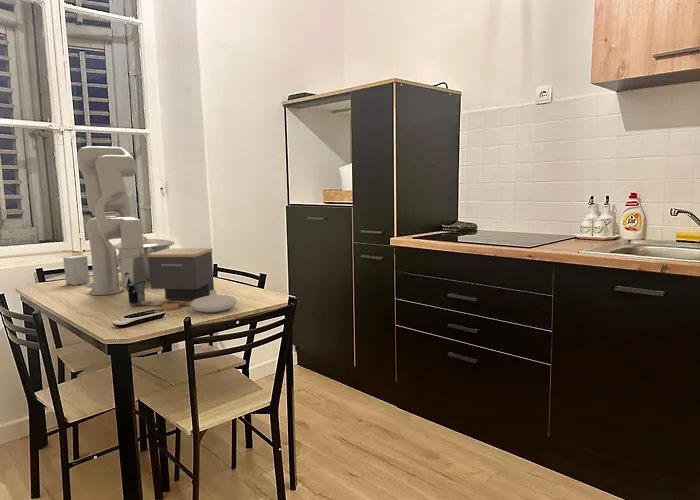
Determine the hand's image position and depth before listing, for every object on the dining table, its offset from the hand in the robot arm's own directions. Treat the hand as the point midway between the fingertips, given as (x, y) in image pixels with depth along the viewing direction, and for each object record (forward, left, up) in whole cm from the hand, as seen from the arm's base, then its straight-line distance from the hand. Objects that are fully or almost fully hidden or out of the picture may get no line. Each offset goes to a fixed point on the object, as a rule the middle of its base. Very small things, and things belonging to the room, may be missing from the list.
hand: (137, 300), depth 185 cm
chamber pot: (-25, +50, -2) cm, 57 cm away
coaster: (+15, -4, -2) cm, 16 cm away
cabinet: (+14, +9, -2) cm, 17 cm away
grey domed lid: (+32, -5, -2) cm, 33 cm away
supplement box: (-52, +38, -2) cm, 64 cm away
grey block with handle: (+10, 0, -1) cm, 10 cm away
